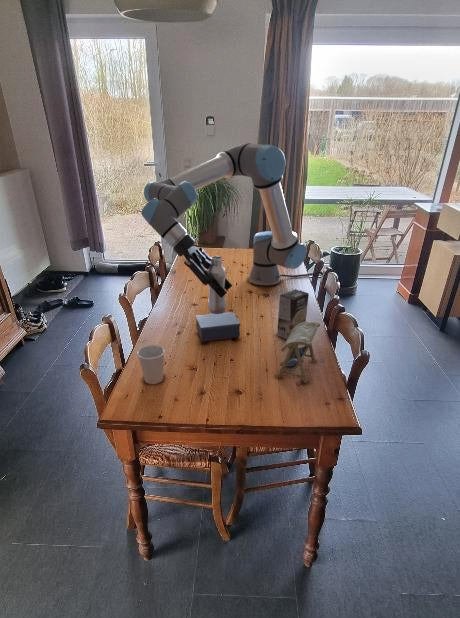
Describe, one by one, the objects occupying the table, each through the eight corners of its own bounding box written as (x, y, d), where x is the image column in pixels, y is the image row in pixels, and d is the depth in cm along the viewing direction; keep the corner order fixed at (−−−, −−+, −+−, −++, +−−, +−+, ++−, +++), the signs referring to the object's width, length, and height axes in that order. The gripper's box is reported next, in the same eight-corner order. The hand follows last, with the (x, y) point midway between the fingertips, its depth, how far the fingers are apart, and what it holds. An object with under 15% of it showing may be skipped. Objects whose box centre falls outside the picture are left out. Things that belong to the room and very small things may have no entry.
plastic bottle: (224, 317, 152) (224, 261, 142) (205, 315, 154) (204, 260, 143) (228, 309, 158) (228, 255, 147) (210, 308, 159) (208, 254, 148)
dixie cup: (144, 388, 132) (140, 360, 126) (137, 375, 138) (133, 347, 133) (170, 382, 135) (168, 355, 129) (162, 369, 141) (160, 342, 136)
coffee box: (289, 341, 158) (293, 300, 149) (276, 335, 162) (278, 295, 153) (305, 333, 163) (309, 293, 155) (291, 327, 167) (295, 288, 159)
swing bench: (288, 356, 149) (292, 317, 141) (316, 361, 146) (321, 321, 138) (276, 378, 137) (279, 336, 129) (306, 384, 134) (311, 342, 126)
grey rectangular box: (233, 328, 167) (233, 311, 163) (240, 340, 158) (240, 323, 154) (196, 332, 164) (195, 315, 160) (201, 345, 155) (200, 327, 151)
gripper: (183, 240, 155) (227, 288, 160) (162, 256, 140) (211, 308, 145) (196, 226, 151) (241, 275, 156) (176, 241, 136) (226, 295, 141)
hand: (226, 291), depth 150 cm, fingers closed on plastic bottle, 6 cm apart
